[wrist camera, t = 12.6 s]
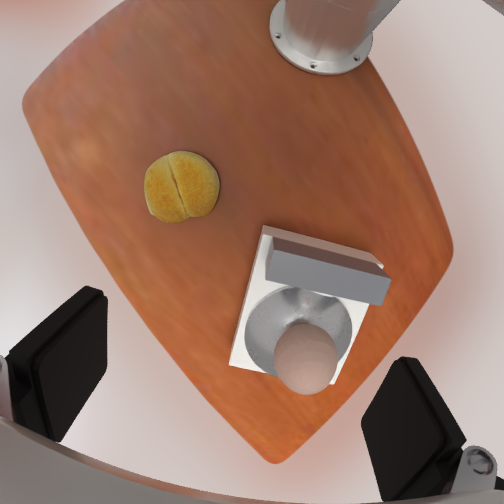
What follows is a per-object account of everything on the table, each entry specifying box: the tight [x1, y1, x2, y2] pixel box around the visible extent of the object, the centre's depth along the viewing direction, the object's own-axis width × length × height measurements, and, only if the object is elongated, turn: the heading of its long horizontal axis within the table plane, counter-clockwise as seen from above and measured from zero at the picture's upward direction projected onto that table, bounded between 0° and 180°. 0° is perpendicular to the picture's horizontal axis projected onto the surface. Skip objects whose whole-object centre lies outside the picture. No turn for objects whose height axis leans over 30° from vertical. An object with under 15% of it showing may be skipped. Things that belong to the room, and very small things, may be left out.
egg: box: [274, 324, 338, 395], centre depth 32 cm, size 7×7×9 cm
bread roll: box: [144, 151, 220, 223], centre depth 36 cm, size 8×9×4 cm
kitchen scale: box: [229, 225, 392, 384], centre depth 36 cm, size 17×14×10 cm
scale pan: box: [244, 286, 352, 378], centre depth 36 cm, size 13×13×1 cm
